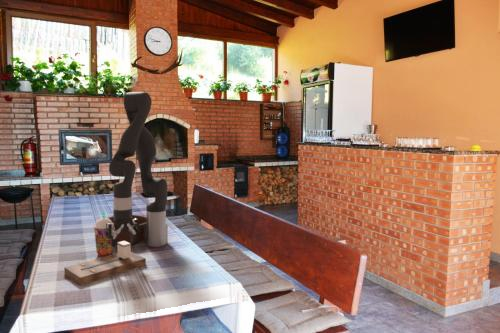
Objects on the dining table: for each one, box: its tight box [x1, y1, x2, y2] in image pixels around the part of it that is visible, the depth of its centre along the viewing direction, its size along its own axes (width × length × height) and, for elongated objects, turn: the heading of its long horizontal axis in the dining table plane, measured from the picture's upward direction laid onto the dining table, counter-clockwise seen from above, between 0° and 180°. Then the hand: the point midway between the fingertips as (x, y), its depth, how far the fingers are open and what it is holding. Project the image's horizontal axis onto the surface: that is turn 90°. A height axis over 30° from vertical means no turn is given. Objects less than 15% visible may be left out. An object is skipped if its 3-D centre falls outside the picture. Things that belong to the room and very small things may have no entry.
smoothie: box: [93, 211, 114, 258], centre depth 176 cm, size 8×8×20 cm
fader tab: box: [116, 241, 132, 259], centre depth 165 cm, size 3×5×6 cm, turn 48°
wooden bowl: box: [106, 214, 147, 247], centre depth 198 cm, size 25×25×10 cm
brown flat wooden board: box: [64, 251, 147, 286], centre depth 159 cm, size 28×14×3 cm, turn 138°
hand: (123, 245), depth 164 cm, fingers open, 8 cm apart
